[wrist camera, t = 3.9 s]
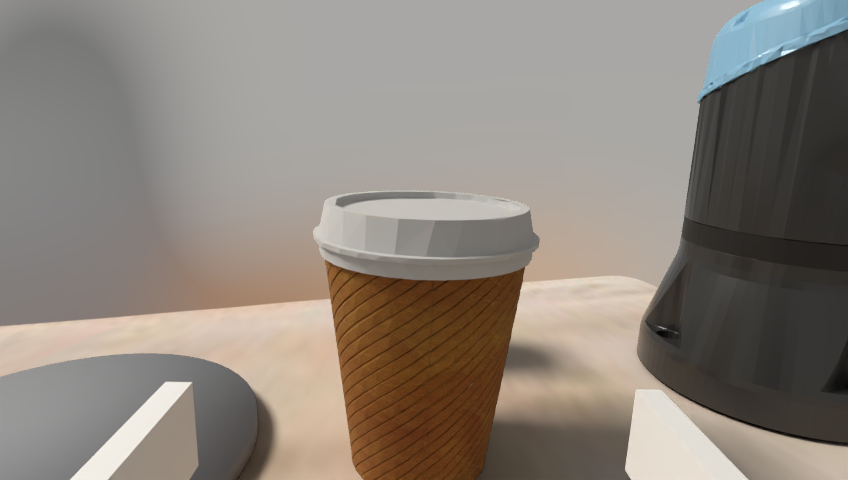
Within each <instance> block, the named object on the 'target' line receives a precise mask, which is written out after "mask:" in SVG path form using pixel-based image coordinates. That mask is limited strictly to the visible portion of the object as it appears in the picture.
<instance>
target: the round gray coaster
mask: <svg viewBox="0 0 848 480" xmlns="http://www.w3.org/2000/svg"><path fill="white" fill-rule="evenodd" d="M165 382H192V384H193V398H194V411H195V425H196V438H197V452H198V467H197V468H196V470H195V472H194V473H193V475H192V476H191V478H190V480H237V478H238V477H239V476H240V474H241V473H242V471H243V469H244V468H245V466H246V464H247V463H248V461H249V459H250V457H251V454H252V452H253V449H254V447H255V444H256V438H257V433H258V422H257V403H256V399H255V396H254V393H253V391H252V389H251V388H250V386H249V385H248V383H247V382H246V381H245V380H244V379H243V378H242V377H241V376H239V375H238V374H237V373H235V372H233V371H232V370H230V369H229V368H226V367H224V366H222V365H219V364H217V363H214V362H210V361H207V360H204V359H199V358H194V357H189V356H181V355H173V354H121V355H109V356H100V357H91V358H85V359H78V360H71V361H66V362H61V363H56V364H50V365H46V366H41V367H37V368H33V369H29V370H24V371H20V372H17V373H13V374H9V375H6V376H2V377H0V480H70V479H71V478H72V477H73V476H74V475H75V474H76V473H77V472H78V471H79V470H80V469H81V468H82V467H83V466H84V465H85V464H86V463H87V462H88V461H89V460H90V459H91V458H92V457H93V456H94V455H95V454H96V453H97V451H98V450H99V449H100V448H101V447H102V446H103V445H104V444H105V443H106V442H107V441H108V440H109V439H110V438H111V437H112V436H113V435H114V434H115V433H116V432H117V431H118V430H119V429H120V428H121V427H122V426H123V425H124V424H125V423H126V422H127V421H128V420H129V419H130V418H131V417H132V416H133V415H134V414H135V413H136V412H137V411H138V410H139V408H140V407H141V406H142V405H143V404H144V403H145V402H146V401H147V400H148V399H149V398H150V397H151V396H152V395H153V394H154V393H155V392H156V391H157V390H158V389H159V388H160V387H161V386H162V385H163V384H164V383H165Z"/></svg>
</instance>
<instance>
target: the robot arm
mask: <svg viewBox="0 0 848 480" xmlns="http://www.w3.org/2000/svg"><path fill="white" fill-rule="evenodd" d="M698 103H699V104H700V109H699V116H698V123H697V131H696V138H695V145H694V152H693V158H692V165H691V172H690V179H689V187H688V193H687V201H686V208H685V215H684V223H683V230H682V236H681V241H680V246H679V249H678V252H677V254H676V256H675V258H674V260H673V262H672V263H671V265H670V267H669V269H668V271H667V273H666V275H665V277H664V278H663V280H662V282H661V284H660V286H659V288H658V289H657V291H656V293H655V295H654V297H653V299H652V301H651V302H650V304H649V306H648V308H647V310H646V312H645V314H644V316H643V318H642V321H641V324H640V331H639V338H638V346H637V354H638V357H639V359H640V361H641V362H642V364H643V365H644V366H645V367H646V369H647V370H648V371H649V372H650V373H652V374H653V375H654V376H655V377H656V378H658V379H659V380H660V381H661V382H663V383H664V384H666V385H667V386H669V387H670V388H672V389H674V390H675V391H677V392H679V393H681V394H682V395H684V396H686V397H688V398H690V399H692V400H694V401H696V402H698V403H700V404H702V405H705V406H707V407H709V408H711V409H714V410H716V411H719V412H721V413H724V414H726V415H729V416H732V417H735V418H737V419H740V420H743V421H746V422H749V423H753V424H756V425H759V426H763V427H766V428H770V429H773V430H777V431H781V432H785V433H790V434H794V435H799V436H804V437H809V438H815V439H821V440H828V441H836V442H846V443H848V0H764V1H762V2H760V3H758V4H756V5H754V6H752V7H750V8H748V9H747V10H744V11H743V12H741V13H739V14H738V15H736V16H735V17H733V18H732V19H731V20H730V21H728V22H727V23H726V24H725V25H724V26H723V27H722V29H721V30H720V31H719V33H718V34H717V36H716V37H715V39H714V42H713V45H712V48H711V52H710V57H709V61H708V66H707V71H706V76H705V80H704V85H703V90H702V91H701V92H700V93H699V96H698ZM197 467H198V452H197V438H196V425H195V411H194V398H193V384H192V382H165V383H164V384H163V385H162V386H161V387H160V388H159V389H158V390H157V391H156V392H155V393H154V394H153V395H152V396H151V397H150V398H149V399H148V400H147V401H146V402H145V403H144V404H143V405H142V406H141V407H140V408H139V410H138V411H137V412H136V413H135V414H134V415H133V416H132V417H131V418H130V419H129V420H128V421H127V422H126V423H125V424H124V425H123V426H122V427H121V428H120V429H119V430H118V431H117V432H116V433H115V434H114V435H113V436H112V437H111V438H110V439H109V440H108V441H107V442H106V443H105V444H104V445H103V446H102V447H101V448H100V449H99V450H98V451H97V453H96V454H95V455H94V456H93V457H92V458H91V459H90V460H89V461H88V462H87V463H86V464H85V465H84V466H83V467H82V468H81V469H80V470H79V471H78V472H77V473H76V474H75V475H74V476H73V477H72V478H71V479H70V480H190V478H191V476H192V475H193V473H194V472H195V470H196V468H197ZM625 471H626V472H627V474H628V475H629V477H630V479H631V480H748V479H747V478H746V477H745V476H744V475H743V474H742V473H741V471H740V470H739V469H738V468H737V467H736V466H735V465H734V464H733V463H732V462H731V461H730V460H729V459H728V458H727V457H726V456H725V455H724V454H723V453H722V452H721V451H720V450H719V449H718V448H717V447H716V446H715V445H714V444H713V443H712V442H711V441H710V440H709V439H708V438H707V437H706V436H705V434H704V433H703V432H702V431H701V430H700V429H699V428H698V427H697V426H696V425H695V424H694V423H693V422H692V421H691V420H690V419H689V418H688V417H687V416H686V415H685V414H684V413H683V412H682V411H681V410H680V409H679V408H678V407H677V406H676V405H675V404H674V403H673V402H672V401H671V400H670V399H669V398H668V396H667V395H666V394H665V393H664V392H663V391H662V390H644V389H636V393H635V400H634V407H633V414H632V422H631V429H630V436H629V444H628V451H627V458H626V465H625Z"/></svg>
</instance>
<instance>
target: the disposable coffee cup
mask: <svg viewBox="0 0 848 480" xmlns="http://www.w3.org/2000/svg"><path fill="white" fill-rule="evenodd" d="M313 237H314V240H315V242H316V243H318V244H319V251H320V254H321V255H322V257H323V258H324V259H325V262H326V267H327V275H328V282H329V289H330V296H331V304H332V312H333V319H334V327H335V333H336V341H337V346H338V347H337V348H338V356H339V363H340V370H341V378H342V384H343V392H344V399H345V406H346V413H347V421H348V428H349V434H350V443H351V450H352V460H353V464H354V466H355V468H356V471H357V472H358V473H359V474H360V476H361V477H362V478H363V479H364V480H476V478H477V477H478V476H479V475H480V473H481V471H482V469H483V467H484V463H485V457H486V452H487V447H488V442H489V438H490V432H491V428H492V424H493V418H494V414H495V409H496V404H497V400H498V395H499V391H500V386H501V381H502V377H503V371H504V366H505V362H506V357H507V353H508V348H509V343H510V339H511V333H512V327H513V323H514V319H515V315H516V310H517V304H518V300H519V296H520V290H521V286H522V282H523V274H524V270H525V266H527V265H528V264H529V263H530V261H531V259H532V252H534V251H535V250H536V249H537V248H538V247H539V237H538V236H537V235H536V234H535V233H533V228H532V221H531V214H530V209H529V207H528V206H526V205H525V204H523V203H520V202H516V201H512V200H508V199H503V198H499V197H491V196H484V195H476V194H467V193H454V192H439V191H372V192H360V193H349V194H343V195H338V196H333V197H331V198H329V199H327V200H326V201H325V203H324V208H323V213H322V217H321V222H320V225H319V226H317V227H316V228H315V229H314V231H313Z"/></svg>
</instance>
